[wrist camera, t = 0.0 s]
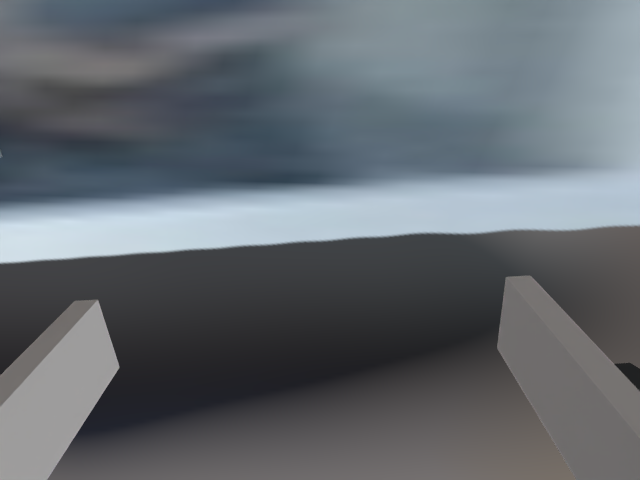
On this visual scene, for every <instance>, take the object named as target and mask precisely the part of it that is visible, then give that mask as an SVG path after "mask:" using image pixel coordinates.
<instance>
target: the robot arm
mask: <svg viewBox="0 0 640 480" xmlns="http://www.w3.org/2000/svg"><path fill="white" fill-rule="evenodd" d="M497 348H498V350H499V352H500V353H501V355H502V357H503V358H504V360H505V362H506V364H507V365H508V367H509V368H510V370H511V372H512V374H513V375H514V377H515V379H516V380H517V382H518V384H519V385H520V387H521V389H522V390H523V392H524V394H525V395H526V397H527V398H528V400H529V402H530V404H531V405H532V407H533V409H534V410H535V412H536V414H537V415H538V417H539V419H540V420H541V422H542V424H543V425H544V427H545V429H546V430H547V432H548V434H549V435H550V437H551V439H552V440H553V442H554V444H555V445H556V447H557V449H558V450H559V452H560V454H561V455H562V457H563V459H564V460H565V462H566V464H567V465H568V467H569V469H570V470H571V472H572V474H573V475H574V477H575V479H576V480H640V369H639V368H638V367H636V366H634V365H633V364H631V363H623V364H613V363H612V362H611V361H610V359H609V358H608V357H607V356H606V355H605V354H604V353H603V352H602V351H601V350H600V349H599V348H598V347H597V346H596V345H595V343H594V342H593V341H592V340H591V339H590V338H589V337H588V336H587V335H586V334H585V333H584V332H583V331H582V330H581V329H580V328H579V327H578V325H577V324H576V323H575V322H574V321H573V320H572V319H571V318H570V317H569V316H568V315H567V314H566V313H565V312H564V311H563V310H562V308H560V306H559V305H558V304H557V303H556V302H555V301H554V300H553V299H552V298H551V297H550V296H549V295H548V294H547V293H546V292H545V290H544V289H543V288H542V287H541V286H540V285H539V284H538V283H537V282H536V281H535V280H534V279H533V278H532V277H531V276H515V277H506V281H505V289H504V297H503V305H502V313H501V321H500V330H499V337H498V346H497ZM118 369H119V364H118V361H117V358H116V355H115V352H114V349H113V346H112V342H111V339H110V336H109V333H108V330H107V327H106V324H105V321H104V318H103V314H102V311H101V308H100V305H99V302H98V300H86V301H74V302H73V303H72V304H71V305H70V306H69V307H68V308H67V309H66V310H65V312H63V313H62V314H61V315H60V316H59V317H58V318H57V319H56V321H54V322H53V323H52V325H50V326H49V327H48V328H47V329H46V330H45V331H44V332H43V333H42V334H41V336H39V337H38V338H37V339H36V340H35V341H34V342H33V343H32V344H31V345H30V346H29V347H28V349H26V350H25V351H24V352H23V353H22V354H21V355H20V357H18V358H17V359H16V360H15V361H14V362H13V364H11V366H10V367H8V368H7V369H6V370H5V371H4V372H3V374H1V376H0V480H47V479H48V477H49V476H50V474H51V473H52V471H53V469H54V468H55V466H56V464H57V463H58V462H59V460H60V459H61V457H62V455H63V453H64V452H65V451H66V449H67V448H68V446H69V444H70V443H71V441H72V440H73V438H74V437H75V435H76V434H77V432H78V431H79V429H80V427H81V426H82V424H83V423H84V421H85V420H86V418H87V416H88V415H89V414H90V412H91V410H92V409H93V407H94V406H95V404H96V403H97V401H98V400H99V398H100V397H101V395H102V393H103V392H104V390H105V389H106V387H107V386H108V384H109V382H110V381H111V379H112V378H113V376H114V375H115V373H116V372H117V370H118Z"/></svg>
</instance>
